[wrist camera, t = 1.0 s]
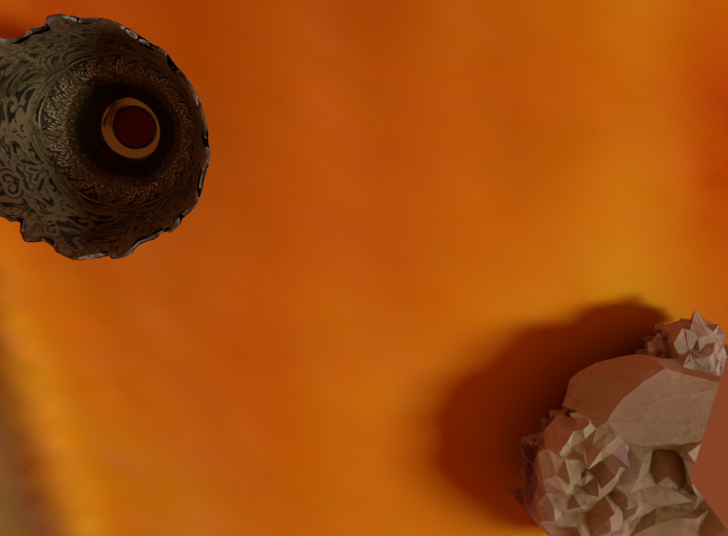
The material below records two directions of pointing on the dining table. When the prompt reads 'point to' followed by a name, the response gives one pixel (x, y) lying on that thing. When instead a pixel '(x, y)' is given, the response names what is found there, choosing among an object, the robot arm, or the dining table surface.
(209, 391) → the dining table surface
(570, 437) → the geode
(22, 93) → the brown rounded piece
